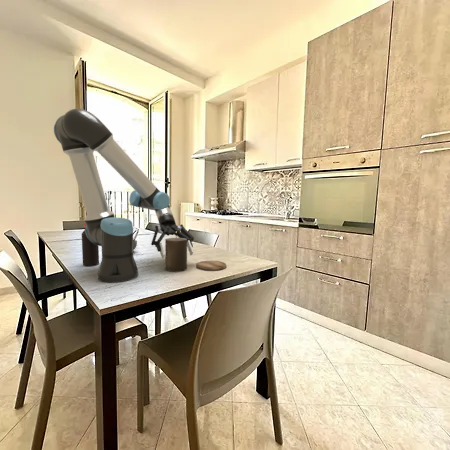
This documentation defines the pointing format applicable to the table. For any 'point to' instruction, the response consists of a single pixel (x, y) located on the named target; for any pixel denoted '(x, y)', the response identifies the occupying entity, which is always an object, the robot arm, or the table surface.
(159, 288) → the table surface
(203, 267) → the trivet
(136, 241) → the mortar and pestle
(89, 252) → the bottle
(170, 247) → the pillar candle
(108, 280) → the robot arm
